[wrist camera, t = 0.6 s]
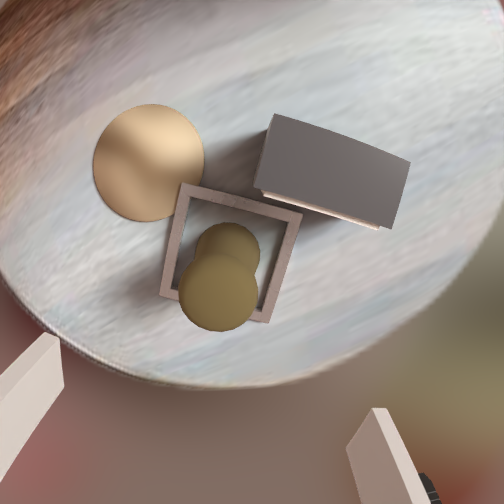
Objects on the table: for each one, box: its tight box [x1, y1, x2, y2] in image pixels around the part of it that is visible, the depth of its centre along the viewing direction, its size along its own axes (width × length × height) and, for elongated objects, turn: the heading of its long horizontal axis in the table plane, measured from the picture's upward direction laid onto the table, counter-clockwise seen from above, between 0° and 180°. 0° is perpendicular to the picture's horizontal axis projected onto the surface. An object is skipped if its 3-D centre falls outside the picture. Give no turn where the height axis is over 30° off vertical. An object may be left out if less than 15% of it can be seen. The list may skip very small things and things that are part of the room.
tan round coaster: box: [93, 104, 204, 222], centre depth 27 cm, size 11×11×1 cm
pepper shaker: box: [178, 222, 260, 332], centre depth 24 cm, size 6×6×11 cm
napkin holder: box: [253, 113, 411, 230], centre depth 23 cm, size 5×10×8 cm, turn 75°
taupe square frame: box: [159, 182, 303, 323], centre depth 29 cm, size 11×11×1 cm
